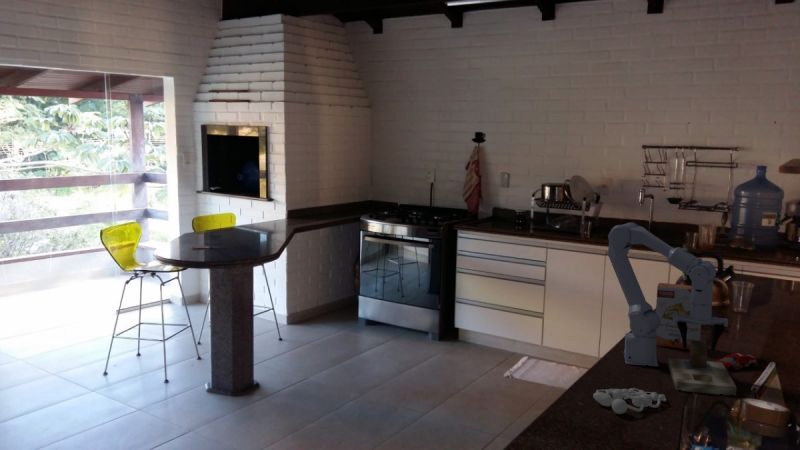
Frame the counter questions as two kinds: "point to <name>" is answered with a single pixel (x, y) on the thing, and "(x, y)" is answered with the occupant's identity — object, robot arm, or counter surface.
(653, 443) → the counter surface
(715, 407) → the counter surface
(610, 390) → the tangled rod sculpture
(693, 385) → the birch board
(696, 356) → the walnut peg
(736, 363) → the race car
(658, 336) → the cracker box
